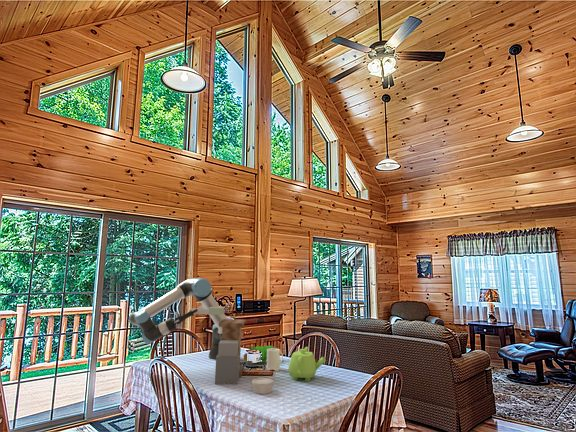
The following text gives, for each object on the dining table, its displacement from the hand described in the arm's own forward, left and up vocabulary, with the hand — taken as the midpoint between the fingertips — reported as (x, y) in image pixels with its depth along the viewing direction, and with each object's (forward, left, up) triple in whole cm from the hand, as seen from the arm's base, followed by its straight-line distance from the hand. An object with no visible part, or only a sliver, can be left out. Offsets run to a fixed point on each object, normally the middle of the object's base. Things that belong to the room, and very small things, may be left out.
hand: (203, 306), depth 230 cm
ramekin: (+21, +48, -39) cm, 65 cm away
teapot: (-13, +63, -39) cm, 75 cm away
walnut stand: (-7, +17, -38) cm, 42 cm away
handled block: (-1, +2, -4) cm, 5 cm away
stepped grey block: (+10, +23, -38) cm, 46 cm away
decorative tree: (-41, +25, -39) cm, 62 cm away
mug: (-25, +39, -39) cm, 60 cm away
